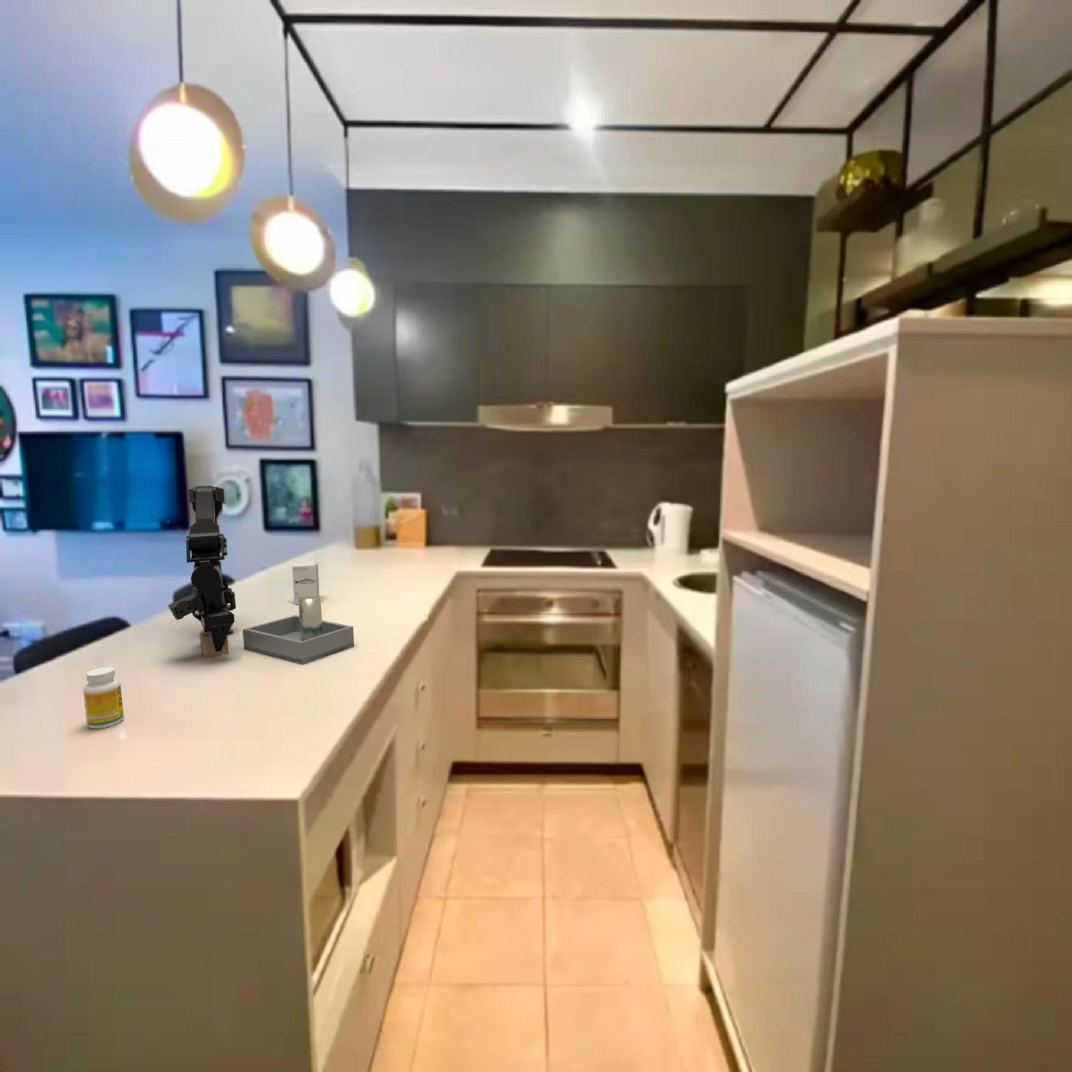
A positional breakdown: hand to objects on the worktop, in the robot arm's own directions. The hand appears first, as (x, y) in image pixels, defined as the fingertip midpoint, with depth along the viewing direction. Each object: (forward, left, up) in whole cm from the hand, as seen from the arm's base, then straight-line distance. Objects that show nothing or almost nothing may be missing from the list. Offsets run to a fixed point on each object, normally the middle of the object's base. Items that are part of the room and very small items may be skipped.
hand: (214, 646), depth 144 cm
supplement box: (-38, +34, -2) cm, 51 cm away
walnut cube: (0, 0, -2) cm, 2 cm away
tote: (+9, +17, -2) cm, 19 cm away
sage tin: (+14, +19, -1) cm, 23 cm away
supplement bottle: (+30, -23, -2) cm, 38 cm away
